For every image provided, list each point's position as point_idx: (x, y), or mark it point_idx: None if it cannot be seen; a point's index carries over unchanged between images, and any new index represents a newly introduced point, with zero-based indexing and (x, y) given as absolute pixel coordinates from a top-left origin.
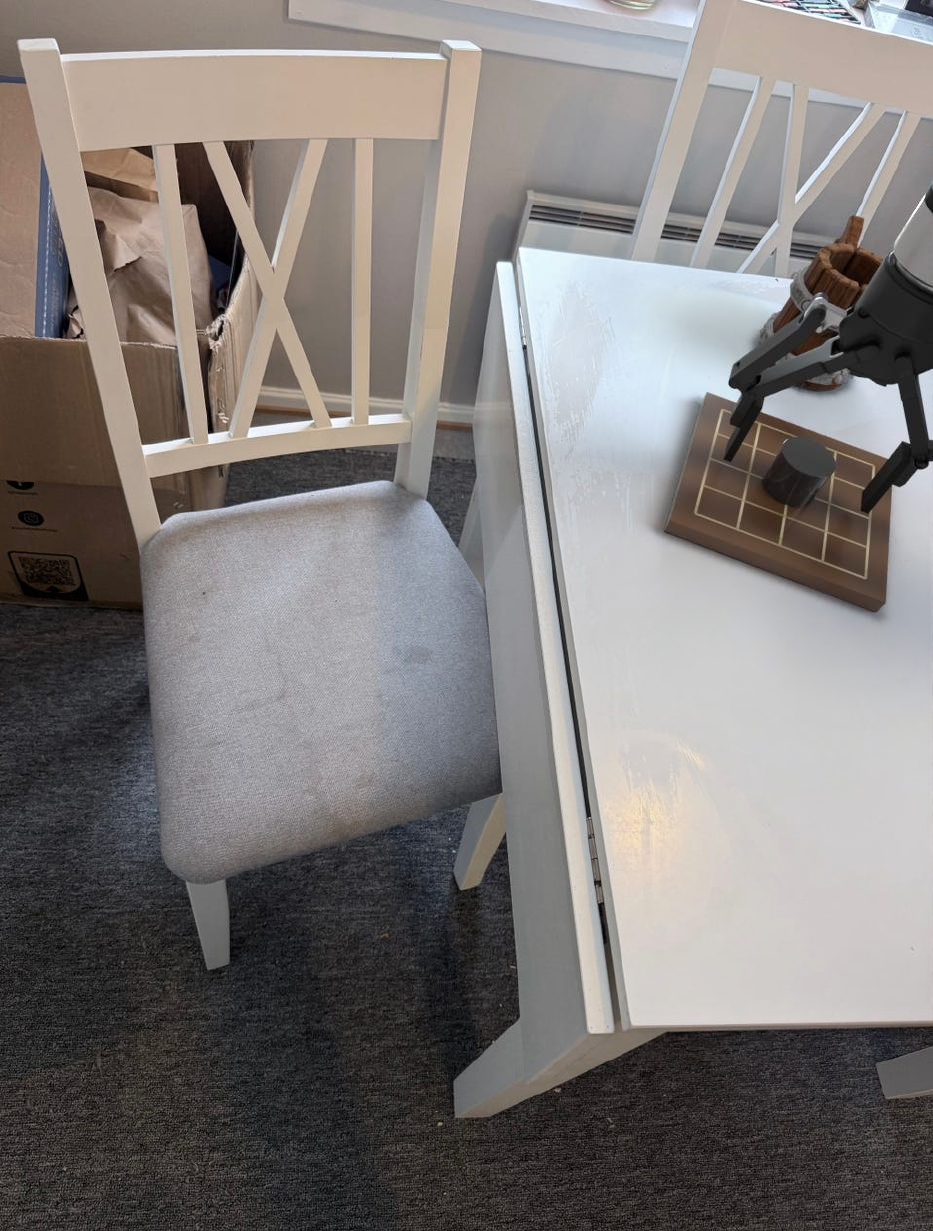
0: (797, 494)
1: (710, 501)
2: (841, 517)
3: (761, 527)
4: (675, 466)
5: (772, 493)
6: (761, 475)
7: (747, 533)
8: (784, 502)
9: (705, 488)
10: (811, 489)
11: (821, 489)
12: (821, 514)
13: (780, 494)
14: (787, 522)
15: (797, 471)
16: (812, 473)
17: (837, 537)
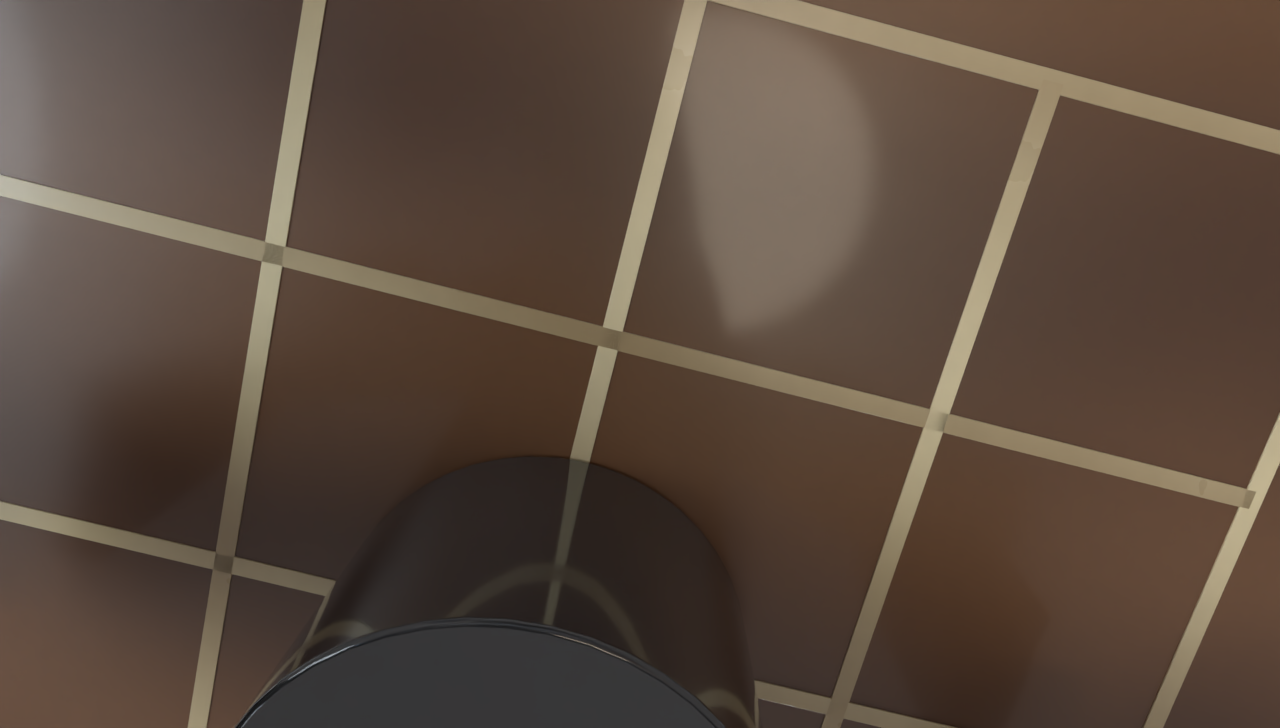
0: (542, 505)
1: (1225, 341)
2: (134, 442)
3: (828, 163)
4: None
5: (697, 536)
6: None
7: (968, 58)
8: (603, 470)
9: (1236, 470)
10: (435, 547)
11: None
12: (297, 434)
13: (656, 516)
14: (595, 273)
15: (647, 656)
16: (480, 661)
17: (180, 215)
